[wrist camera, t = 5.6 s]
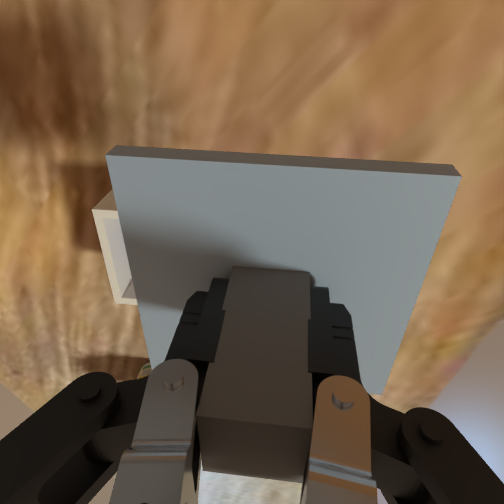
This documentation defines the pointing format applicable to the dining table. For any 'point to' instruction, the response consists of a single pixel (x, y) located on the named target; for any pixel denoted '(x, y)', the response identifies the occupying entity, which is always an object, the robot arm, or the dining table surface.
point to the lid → (275, 276)
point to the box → (114, 250)
